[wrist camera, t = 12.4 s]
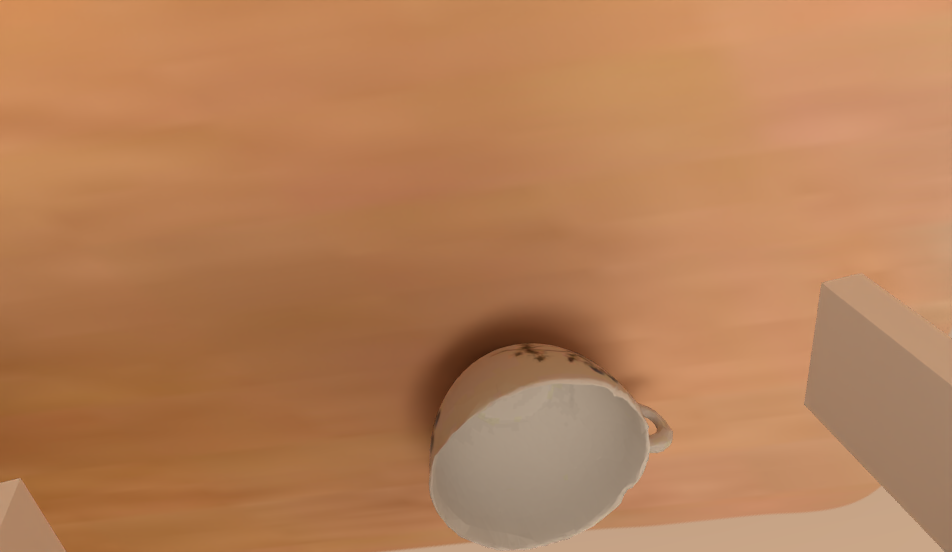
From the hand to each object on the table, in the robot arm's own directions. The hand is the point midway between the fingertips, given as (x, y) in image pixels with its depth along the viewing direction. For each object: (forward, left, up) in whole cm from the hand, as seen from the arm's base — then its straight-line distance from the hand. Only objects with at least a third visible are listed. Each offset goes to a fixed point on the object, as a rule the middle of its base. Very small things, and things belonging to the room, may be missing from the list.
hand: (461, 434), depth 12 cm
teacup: (+7, -22, -27) cm, 35 cm away
